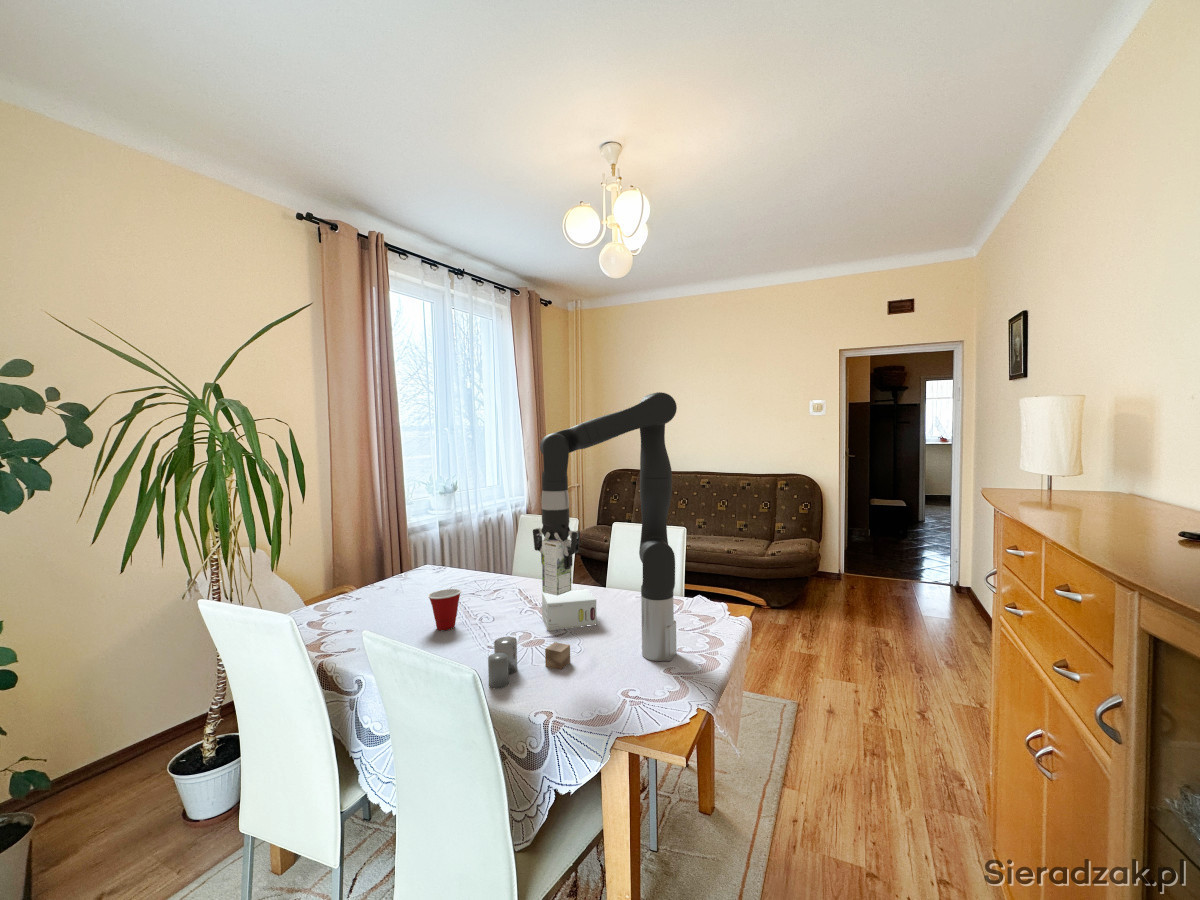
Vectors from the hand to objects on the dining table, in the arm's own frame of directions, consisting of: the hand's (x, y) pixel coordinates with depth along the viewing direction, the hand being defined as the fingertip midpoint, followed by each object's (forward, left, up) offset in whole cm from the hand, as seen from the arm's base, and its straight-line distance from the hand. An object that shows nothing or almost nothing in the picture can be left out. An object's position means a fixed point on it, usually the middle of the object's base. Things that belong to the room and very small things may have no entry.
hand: (556, 567), depth 138 cm
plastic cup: (+50, -9, -28) cm, 58 cm away
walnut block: (+1, -1, -28) cm, 28 cm away
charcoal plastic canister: (+9, +15, -28) cm, 32 cm away
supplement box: (+15, -31, -28) cm, 44 cm away
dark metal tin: (+12, +8, -28) cm, 31 cm away
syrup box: (0, 0, -7) cm, 7 cm away
